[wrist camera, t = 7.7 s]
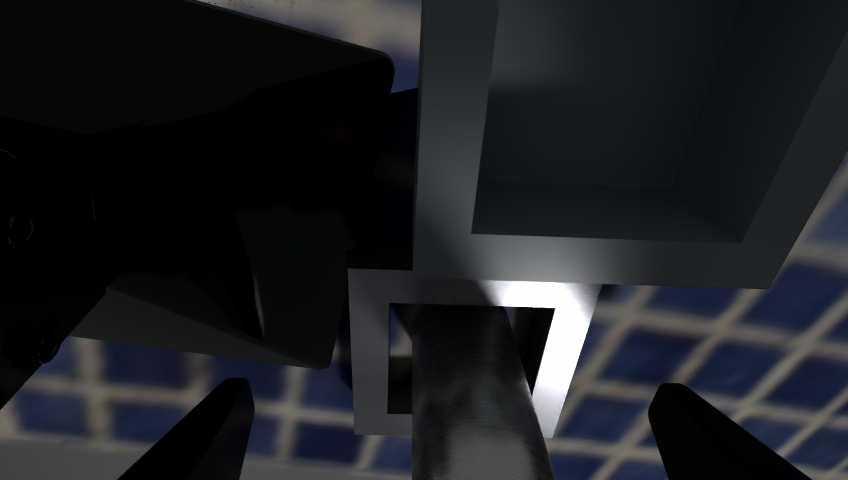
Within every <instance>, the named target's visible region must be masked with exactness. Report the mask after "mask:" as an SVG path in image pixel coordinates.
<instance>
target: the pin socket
mask: <svg viewBox="0 0 848 480" xmlns="http://www.w3.org/2000/svg"><path fill="white" fill-rule="evenodd" d="M601 287H602V284H589V283H558V282H526V281H495V280H463V279H432V278H413V244H405V243H377V242H357V246H356V251H355V255H354V259H352V260H350V261H349V265H348V288H349V311H350V335H351V359H352V382H353V406H354V430H355V435H412V382H402V381H389V368H390V318H391V303H413V304H448V305H482V306H516V307H536V311H535V316H534V320H533V324H532V328H531V332H530V337H529V341H528V345H527V349H526V353H525V358H524V362H523V369H524V372H525V376H526V379H527V382H528V386H529V389H530V393H531V396H532V400H533V403H534V407H535V410H536V414H537V417H538V421H539V424H540V427H541V431H542V434H543V437H549V438H552V437H553V434H554V431H555V428H556V425H557V422H558V419H559V416H560V413H561V410H562V406H563V403H564V400H565V397H566V394H567V391H568V388H569V385H570V382H571V379H572V376H573V373H574V370H575V367H576V363H577V360H578V357H579V354H580V351H581V348H582V345H583V342H584V339H585V336H586V333H587V330H588V327H589V324H590V320H591V317H592V314H593V311H594V308H595V305H596V302H597V299H598V296H599V293H600V290H601Z"/></svg>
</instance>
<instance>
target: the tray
mask: <svg viewBox="0 0 848 480" xmlns="http://www.w3.org/2000/svg"><path fill="white" fill-rule="evenodd" d="M847 151H848V0H422V12H421V34H420V56H419V78H418V100H417V122H416V143H415V165H414V187H413V278H432V279H463V280H495V281H526V282H558V283H589V284H620V285H652V286H683V287H715V288H746V289H769V287H770V286H771V284H772V282H773V280H774V279H775V277H776V275H777V273H778V272H779V270H780V268H781V266H782V265H783V263H784V261H785V259H786V257H787V256H788V254H789V252H790V250H791V249H792V247H793V245H794V243H795V242H796V240H797V238H798V236H799V235H800V233H801V231H802V229H803V228H804V226H805V224H806V222H807V221H808V219H809V217H810V215H811V214H812V212H813V210H814V208H815V207H816V205H817V203H818V201H819V200H820V198H821V196H822V194H823V193H824V191H825V189H826V187H827V186H828V184H829V182H830V180H831V179H832V177H833V175H834V173H835V172H836V170H837V168H838V166H839V165H840V163H841V161H842V159H843V158H844V156H845V154H846V152H847Z"/></svg>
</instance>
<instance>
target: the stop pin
mask: <svg viewBox="0 0 848 480" xmlns="http://www.w3.org/2000/svg"><path fill="white" fill-rule="evenodd" d="M412 480H556V479H555V476H554V472H553V469H552V466H551V462H550V459H549V455H548V452H547V448H546V445H545V441H544V438H543V434H542V431H541V427H540V424H539V421H538V417H537V414H536V410H535V407H534V403H533V400H532V396H531V393H530V389H529V386H528V382H527V379H526V376H525V372H524V369H523V365H522V362H521V358H520V355H519V351H518V348H517V344H516V341H515V337H514V334H513V331H512V327H511V324H510V320H509V318H508V316H507V314H506V313H505V311H504V310H503V309H502V308H501V307H500V306H482V305H448V304H430V305H429V306H427V307H426V308H425V309H424V310H423V311H422V312H421V313H420V314H419V315H418V317H417V318H416V320H415V323H414V325H413V330H412Z"/></svg>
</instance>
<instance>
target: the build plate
mask: <svg viewBox="0 0 848 480" xmlns="http://www.w3.org/2000/svg"><path fill="white" fill-rule="evenodd" d="M394 72H395V68H394V64H393V61H392V59H391V58H390V57H389V56H388V55H387V54H386V53H384V52H381V51H378V50H374V49H371V48H367V47H363V46H360V45H356V44H353V43H349V42H345V41H342V40H338V39H335V38H331V37H327V36H324V35H320V34H317V33H313V32H309V31H306V30H302V29H299V28H295V27H291V26H288V25H284V24H280V23H277V22H273V21H270V20H266V19H262V18H259V17H255V16H252V15H248V14H244V13H241V12H237V11H234V10H230V9H226V8H223V7H219V6H215V5H212V4H208V3H205V2H201V1H197V0H0V410H1V409H2V408H3V407H4V405H5V404H6V403H7V402H8V401H9V400H10V399H11V398H12V397H13V396H14V394H15V393H16V392H17V391H18V390H19V389H20V388H21V387H22V386H23V385H24V383H25V382H26V381H27V380H28V379H29V378H30V377H31V376H32V375H33V374H34V372H35V371H36V370H37V369H38V368H39V367H40V366H41V365H42V364H45V363H47V362H49V361H50V360H52V359H53V358H54V356H55V355H56V354H57V352H58V350H59V348H60V345H61V343H62V342H63V341H64V339H65V338H66V337H67V336H74V337H81V338H89V339H96V340H104V341H111V342H119V343H126V344H133V345H141V346H148V347H156V348H163V349H171V350H178V351H186V352H193V353H201V354H208V355H215V356H223V357H230V358H238V359H245V360H253V361H260V362H268V363H275V364H282V365H290V366H297V367H305V368H312V369H325V368H327V367H328V366H329V365H330V363H331V359H332V355H333V350H334V346H335V341H336V337H337V332H338V328H339V323H340V319H341V314H342V310H343V305H344V301H345V296H346V291H347V287H348V265H349V261H350V260H352V259H354V255H355V251H356V246H357V242H358V237H359V233H360V228H361V224H362V219H363V215H364V210H365V206H366V201H367V197H368V192H369V188H370V183H371V178H372V174H373V169H374V165H375V160H376V156H377V151H378V147H379V142H380V138H381V133H382V129H383V124H384V120H385V115H386V111H387V106H388V102H389V97H390V93H391V88H392V84H393V79H394Z"/></svg>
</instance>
